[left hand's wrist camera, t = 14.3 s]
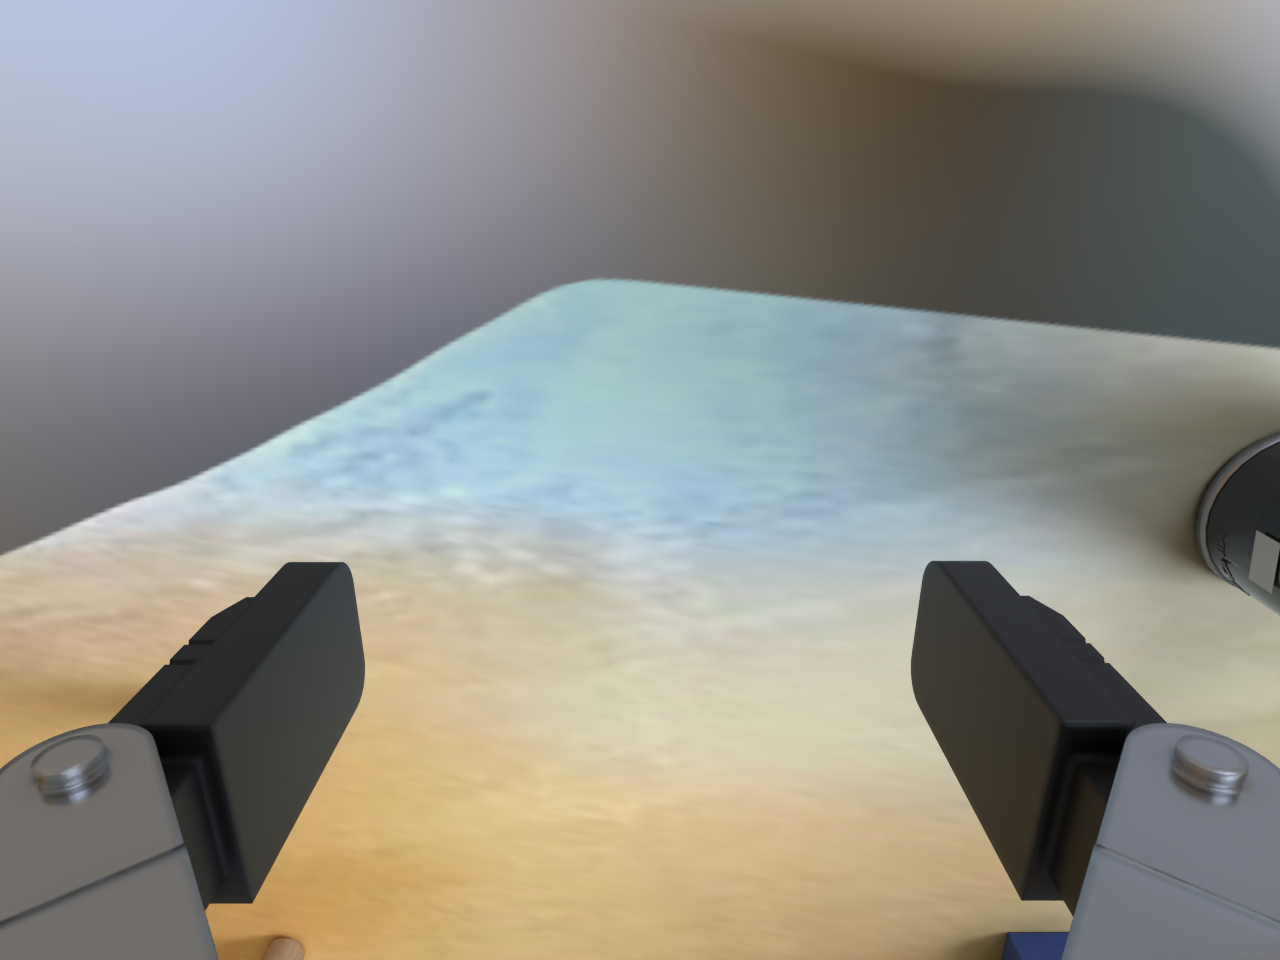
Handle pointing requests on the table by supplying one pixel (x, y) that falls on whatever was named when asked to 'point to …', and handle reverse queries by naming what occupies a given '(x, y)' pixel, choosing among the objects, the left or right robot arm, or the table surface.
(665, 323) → the table surface
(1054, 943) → the brick
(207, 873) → the left robot arm
